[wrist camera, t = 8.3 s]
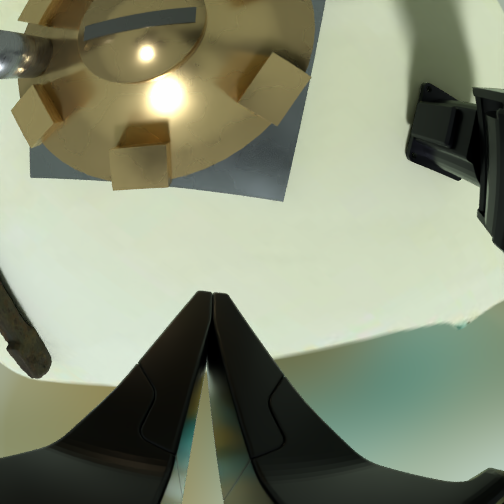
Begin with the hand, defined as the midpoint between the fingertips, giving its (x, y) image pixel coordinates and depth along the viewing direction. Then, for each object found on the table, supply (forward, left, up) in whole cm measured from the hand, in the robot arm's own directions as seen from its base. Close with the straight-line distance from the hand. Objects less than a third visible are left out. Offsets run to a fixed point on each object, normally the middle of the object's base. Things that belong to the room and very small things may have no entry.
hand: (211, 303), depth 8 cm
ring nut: (+5, -9, -10) cm, 14 cm away
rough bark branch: (+21, +14, -12) cm, 28 cm away
